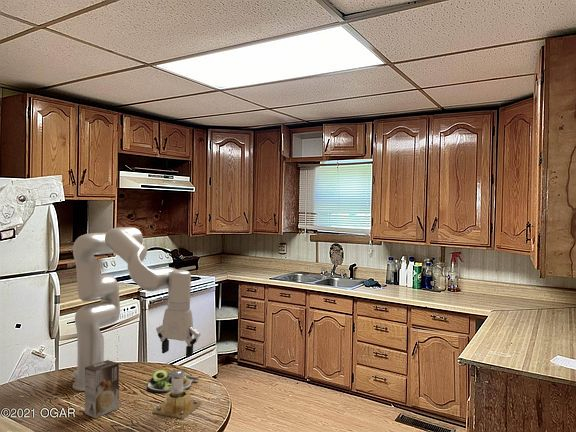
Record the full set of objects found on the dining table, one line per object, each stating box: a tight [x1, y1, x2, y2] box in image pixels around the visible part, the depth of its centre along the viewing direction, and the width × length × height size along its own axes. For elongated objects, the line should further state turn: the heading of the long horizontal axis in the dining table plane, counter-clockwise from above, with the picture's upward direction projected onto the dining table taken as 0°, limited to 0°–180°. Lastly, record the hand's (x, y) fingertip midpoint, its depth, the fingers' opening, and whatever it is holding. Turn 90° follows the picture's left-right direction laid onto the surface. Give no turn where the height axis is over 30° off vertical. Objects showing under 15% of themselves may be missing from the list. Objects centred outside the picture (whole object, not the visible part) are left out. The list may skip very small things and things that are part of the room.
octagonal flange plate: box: [152, 389, 202, 420], centre depth 153 cm, size 12×12×5 cm
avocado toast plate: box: [146, 368, 200, 394], centre depth 174 cm, size 19×18×5 cm
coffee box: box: [84, 359, 120, 419], centre depth 150 cm, size 9×6×16 cm
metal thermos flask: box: [170, 369, 185, 398], centre depth 153 cm, size 4×4×12 cm
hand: (177, 354), depth 153 cm, fingers open, 9 cm apart
